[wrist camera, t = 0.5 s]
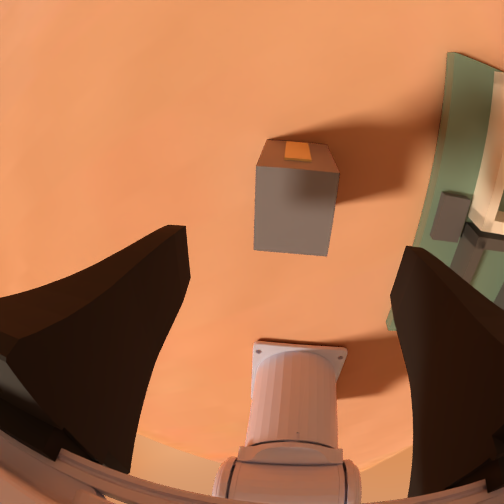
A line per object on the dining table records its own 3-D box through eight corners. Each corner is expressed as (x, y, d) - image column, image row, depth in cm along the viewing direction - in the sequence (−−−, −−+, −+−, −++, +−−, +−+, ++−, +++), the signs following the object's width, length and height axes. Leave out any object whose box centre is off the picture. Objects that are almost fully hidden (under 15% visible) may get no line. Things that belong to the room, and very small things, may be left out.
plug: (319, 207, 19) (327, 256, 14) (264, 203, 19) (253, 250, 15) (326, 142, 17) (340, 170, 12) (267, 137, 17) (256, 163, 12)
